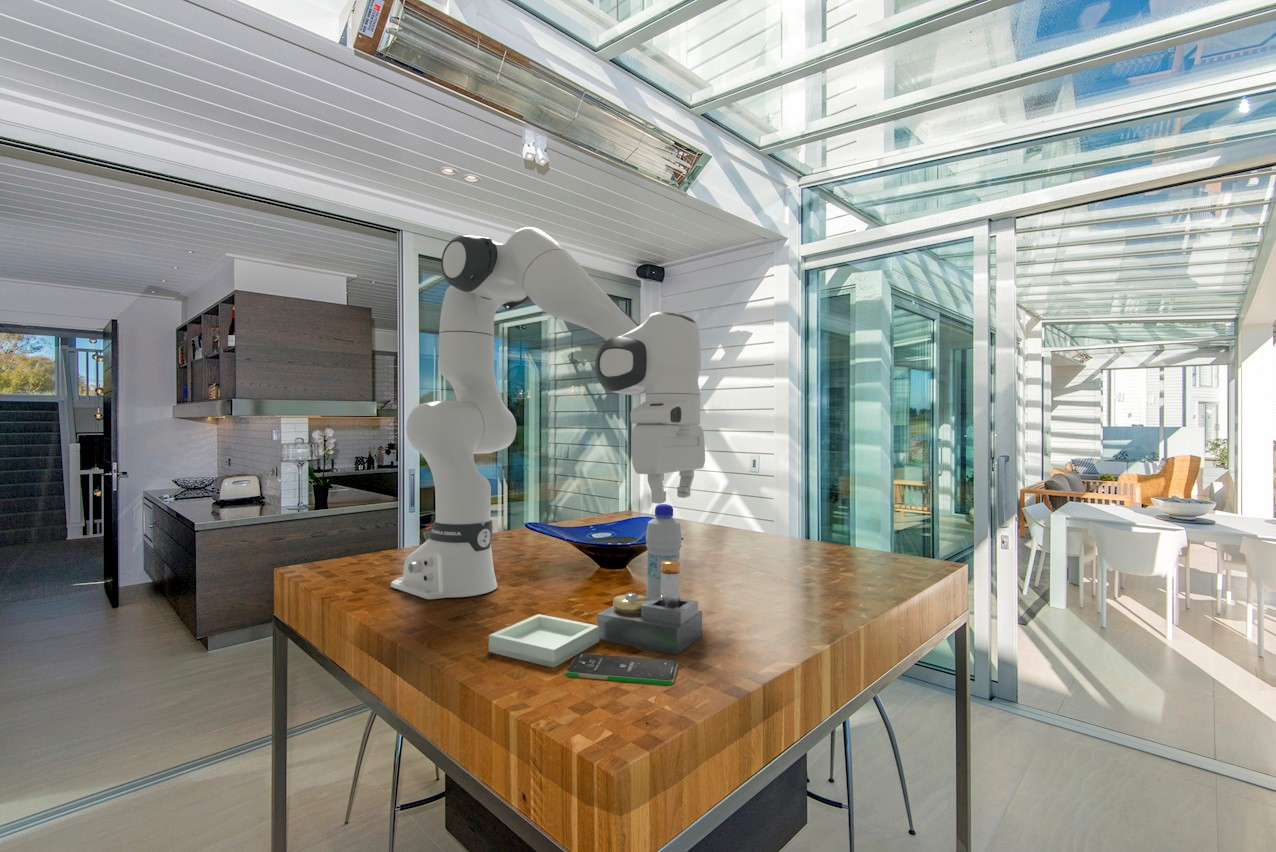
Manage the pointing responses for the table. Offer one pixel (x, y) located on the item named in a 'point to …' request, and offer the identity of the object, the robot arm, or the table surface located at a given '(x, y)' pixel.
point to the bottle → (661, 546)
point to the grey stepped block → (650, 623)
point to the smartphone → (623, 669)
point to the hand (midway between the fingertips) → (671, 500)
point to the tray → (544, 640)
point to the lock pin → (670, 584)
